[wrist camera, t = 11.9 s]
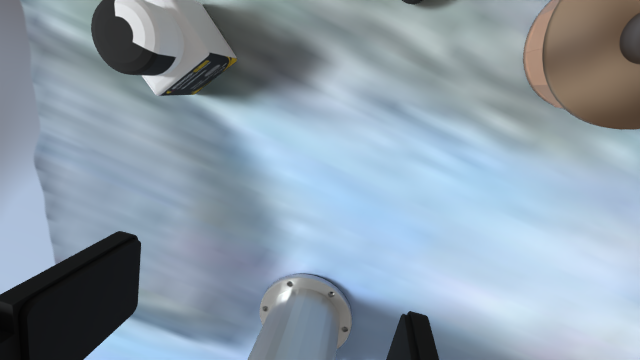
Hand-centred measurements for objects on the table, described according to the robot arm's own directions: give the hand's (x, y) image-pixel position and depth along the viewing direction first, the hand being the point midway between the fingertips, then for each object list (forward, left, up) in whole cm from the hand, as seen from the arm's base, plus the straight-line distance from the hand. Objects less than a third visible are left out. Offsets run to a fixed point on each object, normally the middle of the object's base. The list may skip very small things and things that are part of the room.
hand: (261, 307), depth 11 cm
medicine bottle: (+16, +11, -28) cm, 34 cm away
